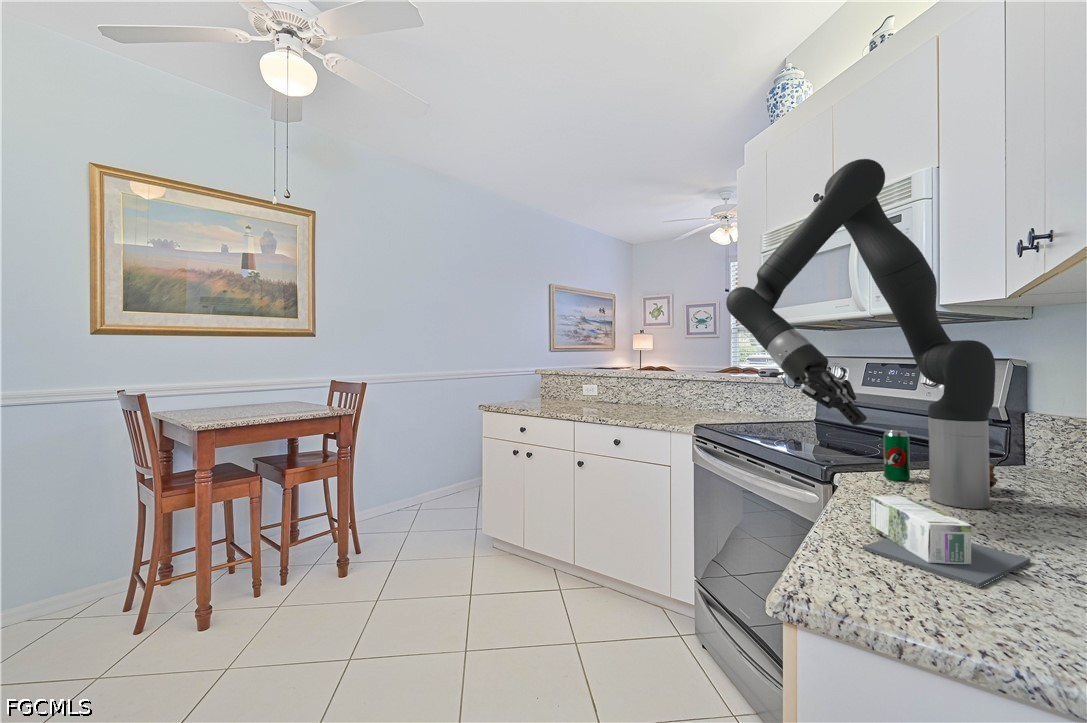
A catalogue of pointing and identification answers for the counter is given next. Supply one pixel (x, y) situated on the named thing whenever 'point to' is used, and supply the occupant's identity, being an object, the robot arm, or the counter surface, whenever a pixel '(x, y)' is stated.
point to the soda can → (896, 455)
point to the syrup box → (921, 529)
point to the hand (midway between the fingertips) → (861, 422)
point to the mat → (978, 573)
